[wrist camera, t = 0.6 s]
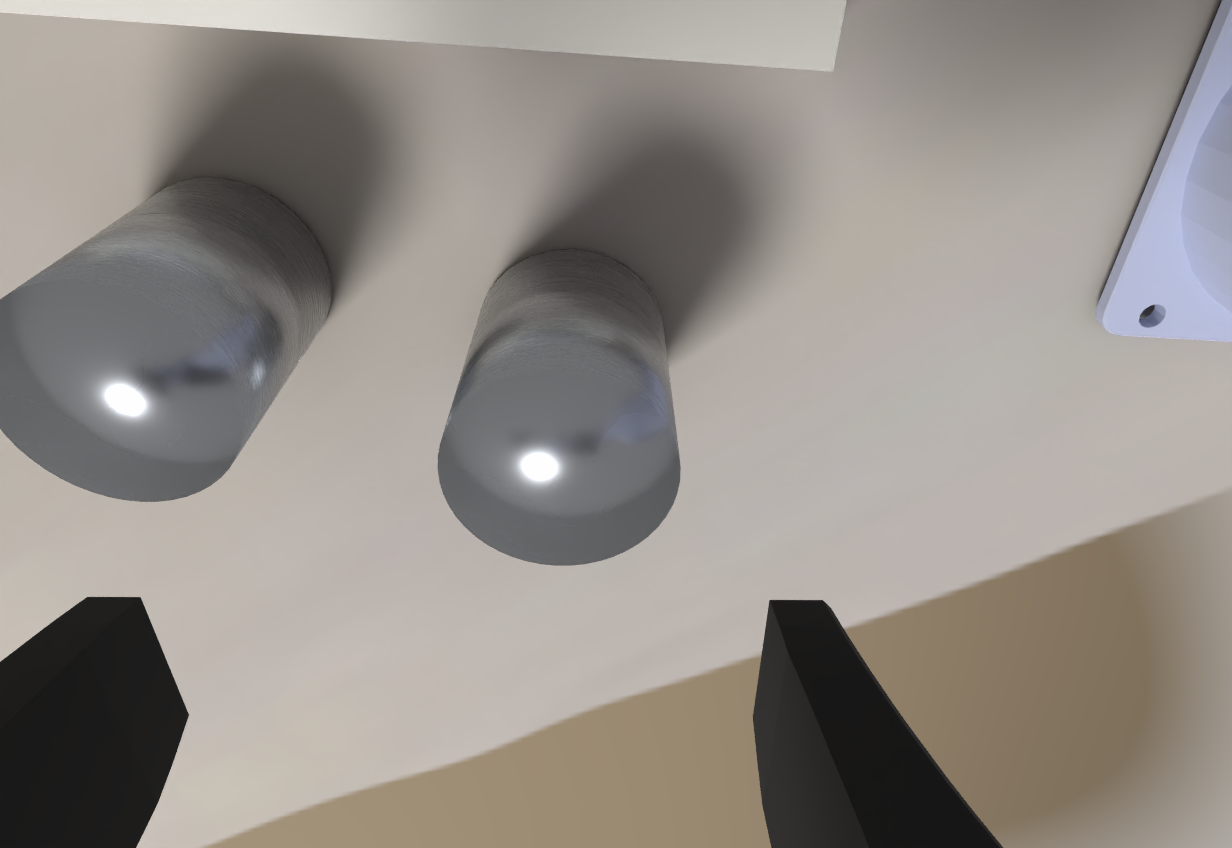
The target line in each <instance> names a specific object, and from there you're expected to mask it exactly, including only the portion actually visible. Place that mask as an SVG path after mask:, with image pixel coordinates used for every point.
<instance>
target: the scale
mask: <svg viewBox="0 0 1232 848" xmlns="http://www.w3.org/2000/svg"><path fill="white" fill-rule="evenodd" d="M846 2H847V0H0V12H3V13H17V14H31V15H45V16H59V17H73V18H87V19H101V20H115V21H129V22H143V23H157V24H171V25H185V26H199V27H213V28H227V29H241V30H255V31H269V32H283V33H297V34H311V35H326V36H340V37H354V38H368V39H382V40H396V41H410V42H424V43H438V44H452V45H466V46H480V47H494V48H508V49H522V50H536V51H550V52H564V53H578V54H592V55H606V56H620V57H634V58H648V59H662V60H676V61H690V62H704V63H718V64H732V65H746V66H760V67H774V68H788V69H802V70H816V71H830V72H833V69H834V64H835V59H836V53H837V48H838V43H839V38H840V33H841V28H842V22H843V17H844V12H845V7H846Z"/></svg>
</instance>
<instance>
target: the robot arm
mask: <svg viewBox="0 0 1232 848" xmlns="http://www.w3.org/2000/svg"><path fill="white" fill-rule="evenodd" d="M1151 305H1155V309H1154V310H1153V312H1152V313H1151V314H1150V315H1149V316H1147V317H1145V318H1144V319H1139V317H1140V314H1141V313H1142V312H1143V310H1144V309H1146V308H1147V307H1149V306H1151ZM1096 318H1097V322H1098V323H1099V324H1100V325H1102V326H1103V327H1104V328H1105V329H1106V330H1107V331H1108V332H1109V333H1111V334H1115V335H1120V336H1137V337H1153V338H1170V339H1187V340H1204V341H1221V342H1232V0H1222V2H1221V4H1220V7H1219V9H1218V12H1217V14H1216V17H1215V19H1214V21H1213V24H1212V26H1211V29H1210V31H1209V34H1208V36H1207V39H1206V41H1205V44H1204V46H1203V48H1202V51H1201V53H1200V56H1199V58H1198V61H1197V63H1196V66H1195V68H1194V70H1193V73H1192V75H1191V78H1190V80H1189V83H1188V85H1187V88H1186V90H1185V92H1184V95H1183V97H1182V100H1181V102H1180V105H1179V107H1178V110H1177V112H1176V114H1175V117H1174V119H1173V122H1172V124H1171V127H1170V129H1169V132H1168V134H1167V136H1166V139H1165V141H1164V144H1163V146H1162V149H1161V151H1160V154H1159V156H1158V159H1157V161H1156V163H1155V166H1154V168H1153V171H1152V173H1151V176H1150V178H1149V181H1148V183H1147V185H1146V188H1145V190H1144V193H1143V195H1142V198H1141V200H1140V203H1139V205H1138V207H1137V210H1136V212H1135V215H1134V217H1133V220H1132V222H1131V225H1130V227H1129V229H1128V232H1127V234H1126V237H1125V239H1124V242H1123V244H1122V247H1121V249H1120V251H1119V254H1118V256H1117V259H1116V261H1115V264H1114V266H1113V269H1112V271H1111V274H1110V276H1109V278H1108V281H1107V283H1106V286H1105V288H1104V291H1103V293H1102V296H1101V298H1100V300H1099V303H1098V305H1097V309H1096ZM188 716H189V714H188V712H187V709H186V707H185V704H184V702H183V699H182V697H181V695H180V692H179V690H178V687H177V685H176V682H175V680H174V678H173V675H172V673H171V670H170V668H169V665H168V663H167V661H166V658H165V656H164V653H163V651H162V648H161V646H160V643H159V641H158V639H157V636H156V634H155V631H154V629H153V626H152V624H151V622H150V619H149V617H148V614H147V612H146V609H145V607H144V605H143V602H142V600H141V597H87V598H85V599H84V600H83V601H81V602H80V603H78V604H77V605H75V606H74V607H73V608H71V609H70V610H68V611H67V612H66V613H64V614H63V615H62V616H60V617H59V618H57V619H56V620H55V621H53V622H52V623H51V624H49V625H48V626H47V627H45V628H44V629H43V630H41V631H40V632H39V633H37V634H36V635H35V636H34V637H32V638H31V639H30V640H28V641H27V642H26V643H24V644H23V645H22V646H20V647H19V648H18V649H17V650H15V651H14V652H13V653H11V654H10V655H9V656H7V657H6V658H5V659H4V660H2V661H1V662H0V848H136V847H137V845H138V843H139V841H140V839H141V837H142V835H143V833H144V830H145V828H146V826H147V824H148V822H149V820H150V818H151V816H152V814H153V812H154V810H155V808H156V806H157V804H158V801H159V798H160V796H161V793H162V790H163V788H164V785H165V782H166V780H167V777H168V774H169V772H170V769H171V766H172V764H173V761H174V758H175V755H176V752H177V749H178V746H179V743H180V740H181V737H182V734H183V731H184V728H185V725H186V722H187V719H188ZM753 723H754V732H755V742H756V752H757V762H758V770H759V779H760V788H761V795H762V805H763V810H764V814H765V819H766V824H767V829H768V833H769V838H770V843H771V847H772V848H1003V847H1002V846H1001V844H1000V843H999V842H998V841H997V840H996V838H995V837H994V836H993V835H992V833H991V832H990V831H989V830H988V829H987V827H986V826H985V825H984V824H983V822H982V821H981V820H980V819H979V818H978V816H977V815H976V814H975V813H974V811H973V810H972V809H971V808H970V806H969V805H968V804H967V802H966V801H965V800H964V799H963V797H962V796H961V795H960V794H959V792H958V791H957V790H956V788H955V787H954V786H953V785H952V783H951V782H950V781H949V779H948V778H947V777H946V775H945V774H944V773H943V771H942V770H941V769H940V767H939V766H938V765H937V763H936V762H935V761H934V759H933V758H932V757H931V755H930V754H929V753H928V751H927V750H926V749H925V747H924V746H923V744H922V743H921V742H920V740H919V739H918V738H917V737H916V735H915V734H914V732H913V731H912V730H911V728H910V727H909V726H908V724H907V723H906V721H905V720H904V719H903V717H902V716H901V714H900V713H899V711H898V710H897V709H896V707H895V706H894V704H893V703H892V702H891V700H890V699H889V697H888V696H887V694H886V693H885V691H884V690H883V689H882V687H881V685H880V684H879V683H878V681H877V680H876V678H875V677H874V675H873V674H872V672H871V671H870V669H869V668H868V666H867V665H866V663H865V662H864V660H863V658H862V657H861V656H860V654H859V652H858V651H857V649H856V648H855V646H854V645H853V643H852V641H851V640H850V638H849V637H848V635H847V634H846V632H845V630H844V629H843V627H842V626H841V624H840V622H839V621H838V619H837V617H836V616H835V614H834V612H833V611H832V609H831V608H830V607H829V606H828V605H827V604H826V603H825V602H824V601H823V600H770V601H769V608H768V615H767V622H766V629H765V636H764V643H763V650H762V657H761V665H760V671H759V679H758V685H757V692H756V699H755V707H754V714H753Z"/></svg>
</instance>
